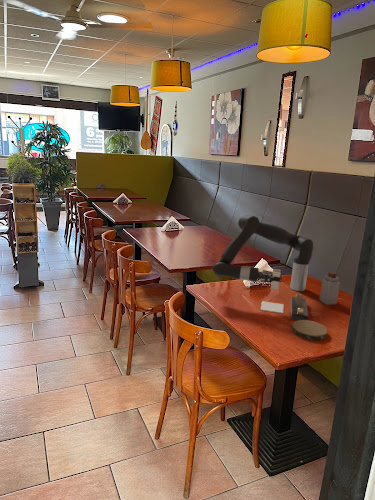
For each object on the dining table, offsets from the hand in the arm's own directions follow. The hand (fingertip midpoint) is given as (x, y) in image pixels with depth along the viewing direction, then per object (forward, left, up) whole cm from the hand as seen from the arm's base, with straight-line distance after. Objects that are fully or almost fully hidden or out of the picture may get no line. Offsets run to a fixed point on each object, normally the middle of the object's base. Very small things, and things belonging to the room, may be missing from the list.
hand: (280, 278), depth 198 cm
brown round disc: (+27, +9, -18) cm, 34 cm away
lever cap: (-1, -3, -6) cm, 7 cm away
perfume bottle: (-13, +33, -18) cm, 40 cm away
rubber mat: (-1, -3, -17) cm, 18 cm away
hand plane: (+3, +11, -17) cm, 21 cm away
